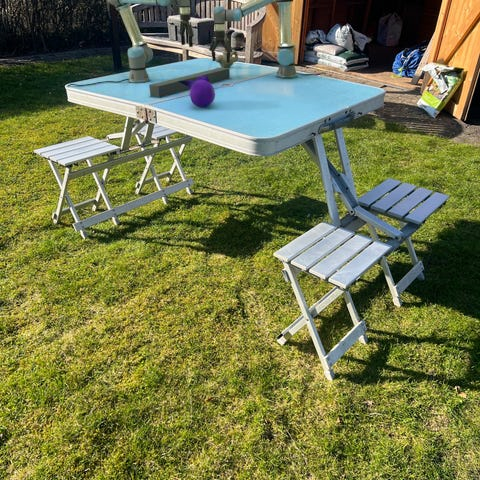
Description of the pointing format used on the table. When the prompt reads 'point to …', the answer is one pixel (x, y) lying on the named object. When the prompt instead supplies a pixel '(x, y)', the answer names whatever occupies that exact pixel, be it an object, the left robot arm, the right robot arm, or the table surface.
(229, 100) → the table surface
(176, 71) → the table surface
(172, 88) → the wide block
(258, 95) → the table surface
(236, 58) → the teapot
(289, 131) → the table surface
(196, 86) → the toy
